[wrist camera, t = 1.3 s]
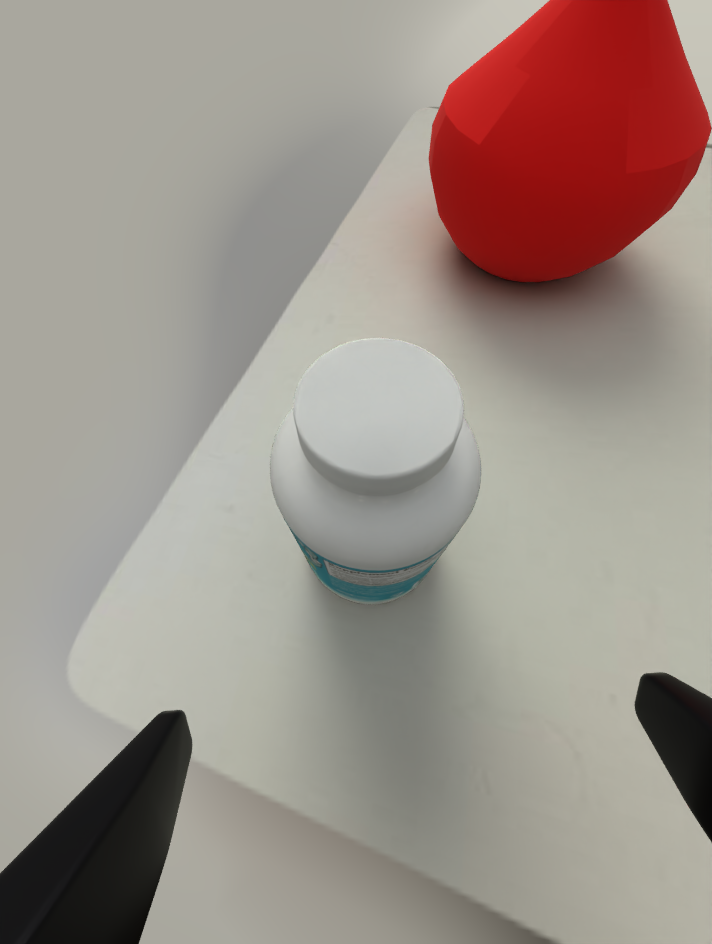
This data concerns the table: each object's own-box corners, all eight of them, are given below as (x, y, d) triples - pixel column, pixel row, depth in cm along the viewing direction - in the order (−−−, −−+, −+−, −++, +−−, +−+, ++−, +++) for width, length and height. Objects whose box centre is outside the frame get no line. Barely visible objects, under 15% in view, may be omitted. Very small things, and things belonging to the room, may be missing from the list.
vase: (452, 175, 40) (519, -188, 23) (636, 214, 37) (877, -181, 19) (387, 282, 33) (414, -139, 16) (611, 345, 29) (966, -112, 12)
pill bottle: (313, 480, 24) (266, 298, 12) (430, 486, 24) (501, 304, 12) (299, 604, 21) (213, 521, 9) (435, 612, 21) (539, 537, 9)
